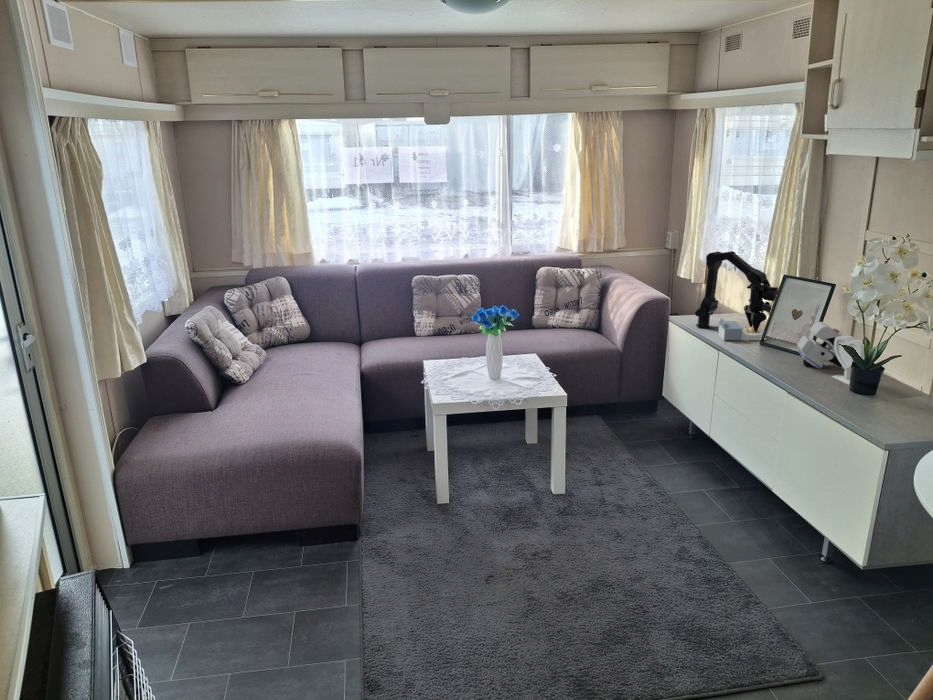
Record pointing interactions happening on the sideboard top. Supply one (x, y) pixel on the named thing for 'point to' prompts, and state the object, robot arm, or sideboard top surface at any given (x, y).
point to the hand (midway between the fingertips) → (753, 329)
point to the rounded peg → (752, 330)
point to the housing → (744, 334)
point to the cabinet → (731, 330)
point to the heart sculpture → (847, 355)
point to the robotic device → (819, 346)
